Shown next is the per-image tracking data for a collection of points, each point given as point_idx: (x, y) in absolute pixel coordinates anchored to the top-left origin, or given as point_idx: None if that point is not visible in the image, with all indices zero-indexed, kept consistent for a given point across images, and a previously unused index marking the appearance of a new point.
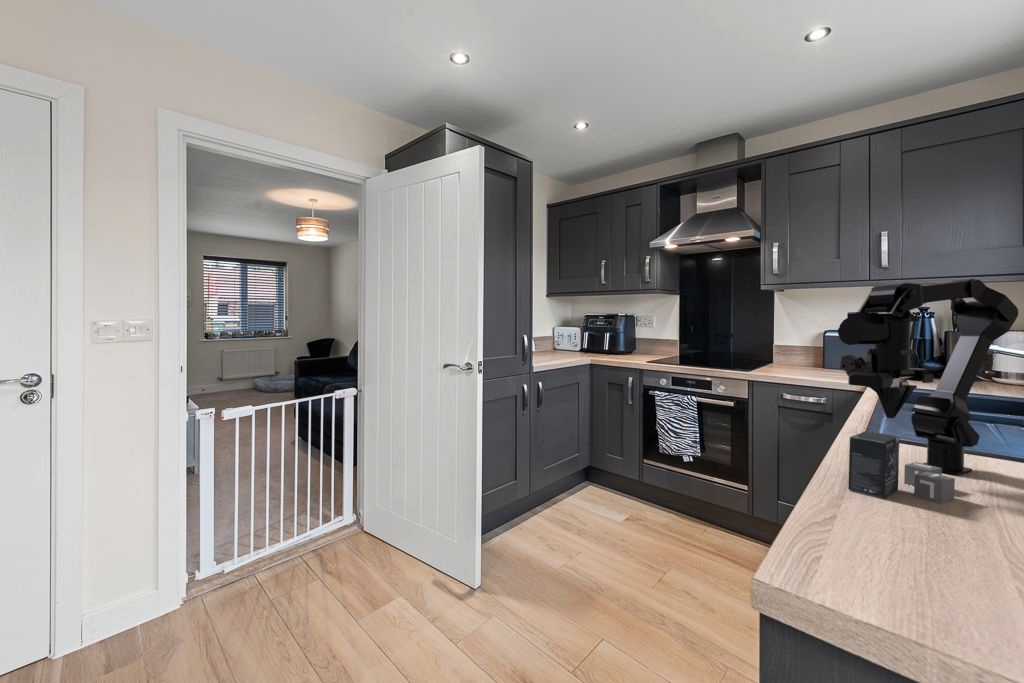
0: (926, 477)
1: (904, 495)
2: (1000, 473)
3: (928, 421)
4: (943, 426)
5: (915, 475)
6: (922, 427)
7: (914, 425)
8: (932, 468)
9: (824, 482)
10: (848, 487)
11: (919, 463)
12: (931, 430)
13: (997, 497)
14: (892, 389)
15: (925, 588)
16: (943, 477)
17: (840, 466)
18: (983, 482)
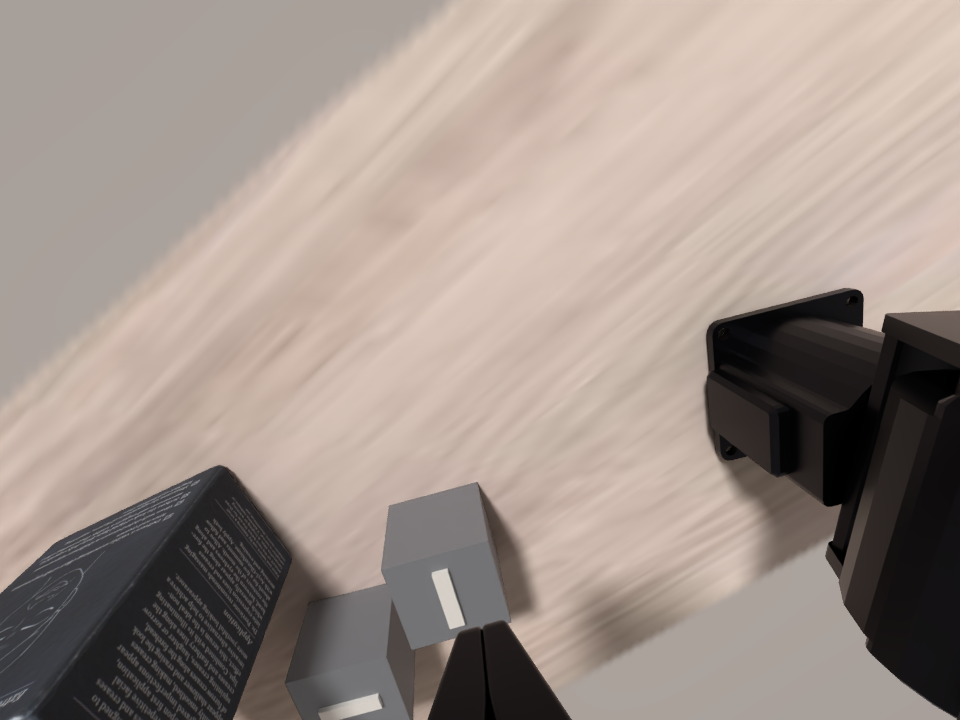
0: (300, 714)
1: None
2: None
3: (917, 555)
4: (867, 640)
5: (286, 682)
6: (880, 459)
7: (896, 402)
8: (460, 624)
9: (9, 438)
10: (48, 549)
11: (479, 561)
12: (863, 507)
13: (583, 640)
14: None
15: None
16: (377, 717)
17: (303, 226)
18: (723, 525)
